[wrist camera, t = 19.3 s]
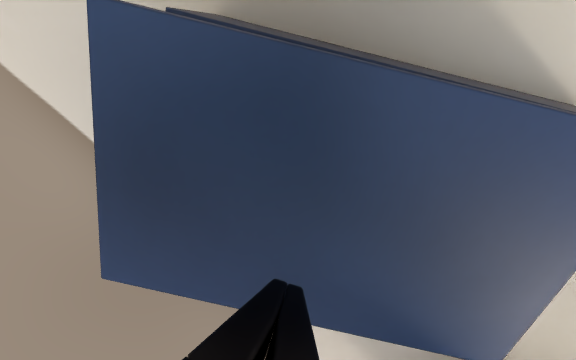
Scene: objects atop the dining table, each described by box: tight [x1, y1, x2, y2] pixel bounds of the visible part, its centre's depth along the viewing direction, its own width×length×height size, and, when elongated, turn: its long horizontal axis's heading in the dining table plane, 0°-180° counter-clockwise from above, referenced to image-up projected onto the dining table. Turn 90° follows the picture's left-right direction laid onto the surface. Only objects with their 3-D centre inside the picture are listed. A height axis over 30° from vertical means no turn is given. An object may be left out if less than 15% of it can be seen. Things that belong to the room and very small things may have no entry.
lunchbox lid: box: [87, 0, 576, 360], centre depth 13 cm, size 20×12×1 cm, turn 77°
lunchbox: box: [166, 7, 576, 113], centre depth 17 cm, size 19×12×5 cm, turn 77°
